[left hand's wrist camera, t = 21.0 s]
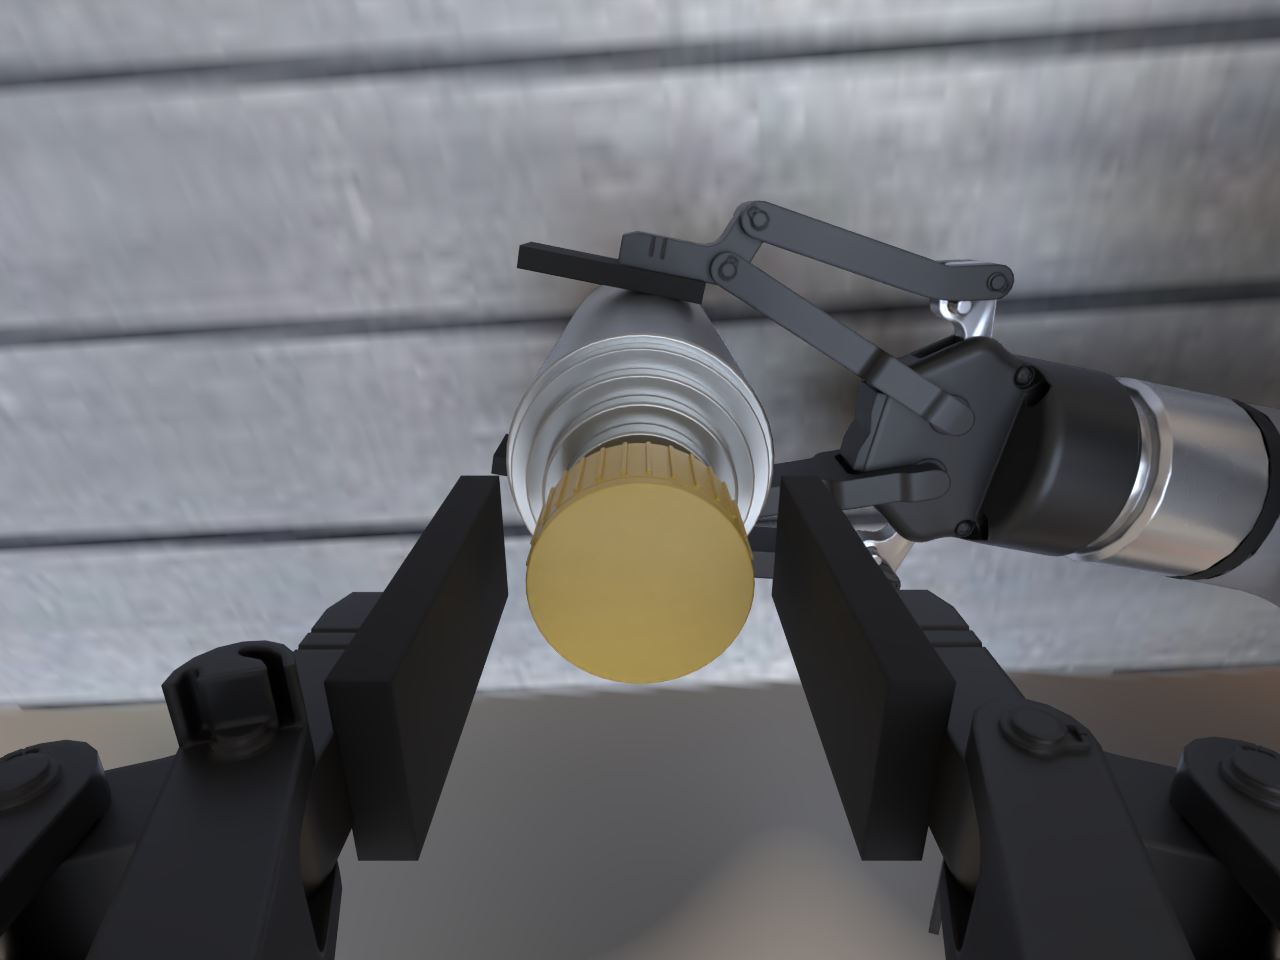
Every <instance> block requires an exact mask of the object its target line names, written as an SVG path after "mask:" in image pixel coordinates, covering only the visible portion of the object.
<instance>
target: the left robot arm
mask: <svg viewBox="0 0 1280 960" xmlns="http://www.w3.org/2000/svg"><path fill="white" fill-rule="evenodd" d="M507 597H508V585H507V572H506V559H505V546H504V533H503V520H502V507H501V494H500V481H499V476H461V477H460V478H459V480H458V481H457V483H456V484H455V486H454V487H453V489H452V490H451V492H450V493H449V495H448V496H447V498H446V499H445V501H444V502H443V504H442V505H441V507H440V508H439V510H438V511H437V513H436V514H435V516H434V517H433V519H432V520H431V522H430V523H429V525H428V526H427V528H426V529H425V531H424V532H423V534H422V535H421V537H420V538H419V540H418V541H417V543H416V544H415V546H414V547H413V549H412V550H411V552H410V553H409V555H408V556H407V558H406V559H405V561H404V562H403V564H402V565H401V567H400V568H399V570H398V571H397V573H396V574H395V576H394V577H393V579H392V580H391V582H390V583H389V585H388V586H387V588H386V589H385V591H384V592H352V593H351V594H349V595H348V596H346V597H345V598H343V599H342V600H340V601H339V602H337V603H335V604H334V605H332V606H331V607H329V608H328V609H327V610H326V611H325V612H324V613H323V615H322V616H321V617H320V619H319V620H318V621H317V622H316V624H315V625H314V626H313V628H312V629H311V630H312V631H311V633H308V634H307V635H306V636H305V638H304V639H303V640H302V642H301V643H300V644H299V648H298V650H295V651H294V652H293V651H291V650H290V649H289V648H288V647H286V646H285V645H284V644H280V643H275V642H270V641H246V642H239V643H235V644H231V645H227V646H222V647H218V648H216V649H213V650H211V651H209V652H206V653H204V654H201V655H199V656H197V657H194V658H193V659H191V660H190V661H188V662H186V663H185V664H183V665H182V666H180V667H179V668H177V669H176V670H174V671H173V672H172V674H171V675H170V676H169V677H168V678H167V679H166V681H165V682H164V683H163V684H162V685H161V686H162V690H163V693H164V696H165V700H166V703H167V707H168V710H169V713H170V717H171V720H172V723H173V727H174V730H175V734H176V737H177V740H178V744H179V749H178V751H177V753H176V755H173V756H169V757H165V758H162V759H157V760H153V761H148V762H143V763H138V764H134V765H129V766H125V767H120V768H115V769H111V770H106V771H104V769H103V766H102V763H101V761H100V758H99V755H98V752H97V750H95V749H94V748H93V747H92V746H90V745H89V744H88V743H86V742H80V741H72V740H61V741H55V742H48V743H41V744H37V745H33V746H30V747H26V748H25V749H20V750H17V751H15V752H12V753H9V754H7V755H5V756H4V757H2V758H0V960H334V958H335V949H336V940H337V930H338V921H339V912H340V903H341V894H342V884H341V877H340V871H339V866H338V861H337V859H338V857H339V855H340V852H341V850H342V848H343V846H344V844H345V842H346V839H347V837H348V835H349V833H350V831H351V829H352V831H353V836H354V841H355V846H356V851H357V857H358V860H359V861H418V859H419V856H420V853H421V850H422V847H423V845H424V841H425V839H426V836H427V833H428V830H429V827H430V824H431V821H432V818H433V815H434V812H435V809H436V806H437V803H438V800H439V797H440V795H441V792H442V789H443V786H444V783H445V780H446V777H447V774H448V771H449V768H450V765H451V762H452V759H453V756H454V753H455V750H456V747H457V744H458V742H459V739H460V736H461V733H462V730H463V727H464V724H465V721H466V718H467V715H468V712H469V709H470V706H471V703H472V700H473V697H474V695H475V692H476V689H477V686H478V683H479V680H480V677H481V674H482V671H483V668H484V665H485V662H486V659H487V656H488V653H489V650H490V647H491V645H492V642H493V639H494V636H495V633H496V630H497V627H498V624H499V621H500V618H501V615H502V612H503V609H504V606H505V603H506V600H507ZM772 597H773V600H774V603H775V606H776V609H777V612H778V615H779V618H780V621H781V624H782V627H783V630H784V633H785V636H786V639H787V642H788V645H789V647H790V650H791V653H792V656H793V659H794V662H795V665H796V668H797V671H798V674H799V677H800V680H801V683H802V686H803V688H804V692H805V695H806V697H807V700H808V703H809V706H810V709H811V712H812V715H813V718H814V721H815V724H816V727H817V730H818V733H819V736H820V739H821V742H822V745H823V747H824V750H825V753H826V756H827V759H828V762H829V765H830V768H831V771H832V774H833V777H834V780H835V783H836V786H837V789H838V792H839V795H840V797H841V800H842V803H843V806H844V809H845V812H846V815H847V818H848V821H849V824H850V827H851V830H852V833H853V836H854V839H855V842H856V845H857V847H858V850H859V853H860V856H861V859H862V861H902V860H903V861H917V860H918V861H921V860H922V856H923V851H924V846H925V841H926V836H927V831H928V826H929V827H930V829H931V832H932V834H933V836H934V838H935V840H936V842H937V844H938V847H939V849H940V851H941V853H942V855H943V861H942V866H941V871H940V876H939V880H938V885H937V890H936V895H935V900H934V904H933V909H932V914H931V920H930V927H929V933H933V934H937V935H938V934H939V929H940V925H941V920H942V929H943V938H944V947H945V956H946V960H1280V754H1278V753H1277V752H1275V751H1273V750H1270V749H1267V748H1265V747H1262V746H1257V745H1255V744H1252V743H1248V742H1245V741H1241V740H1234V739H1227V738H1220V737H1209V738H1200V739H1195V740H1193V741H1192V742H1191V743H1189V744H1188V745H1187V746H1185V747H1184V749H1183V752H1182V755H1181V758H1180V761H1179V764H1178V766H1177V768H1175V767H1170V766H1165V765H1160V764H1156V763H1151V762H1147V761H1142V760H1137V759H1133V758H1128V757H1123V756H1119V755H1115V754H1111V753H1108V752H1104V751H1103V750H1102V747H1101V745H1100V744H1099V743H1098V741H1097V740H1096V739H1095V737H1094V736H1093V735H1092V733H1091V732H1090V730H1088V729H1087V728H1086V727H1085V726H1083V725H1082V724H1081V723H1079V722H1078V721H1077V720H1075V719H1074V718H1073V717H1071V716H1070V715H1068V714H1066V713H1064V712H1062V711H1059V710H1057V709H1055V708H1053V707H1051V706H1049V705H1047V704H1043V703H1039V702H1035V701H1032V700H1028V699H1026V698H1025V697H1024V696H1023V695H1022V693H1021V692H1020V691H1019V689H1018V688H1017V687H1016V686H1015V684H1014V683H1013V682H1012V681H1011V679H1010V678H1009V677H1008V675H1007V674H1006V673H1005V672H1004V670H1003V669H1002V668H1001V667H1000V665H999V664H998V663H997V661H996V660H995V659H994V658H993V656H992V655H991V654H990V653H989V651H988V650H987V649H986V647H982V642H981V641H980V640H979V639H978V637H977V636H976V635H975V633H974V632H973V631H972V630H969V626H968V625H967V623H966V622H965V621H964V619H963V618H962V617H961V616H960V614H959V613H958V612H957V611H956V609H955V608H954V607H953V606H952V605H950V604H948V603H947V602H945V601H944V600H942V599H941V598H939V597H938V596H936V595H935V594H933V593H932V592H930V591H928V590H895V589H894V588H893V586H892V585H891V583H890V582H889V580H888V579H887V577H886V576H885V574H884V573H883V571H882V570H881V568H880V567H879V565H878V564H877V562H876V561H875V559H874V558H873V556H872V555H871V553H870V552H869V550H868V549H867V547H866V546H865V544H864V543H863V541H862V540H861V538H860V537H859V535H858V534H857V532H856V531H855V529H854V528H853V526H852V525H851V523H850V522H849V520H848V519H847V517H846V516H845V514H844V513H843V511H842V510H841V508H840V507H839V505H838V504H837V502H836V501H835V499H834V498H833V496H832V495H831V493H830V492H829V490H828V489H827V487H826V486H825V484H824V483H823V481H822V480H821V478H820V477H819V476H781V481H780V494H779V507H778V520H777V533H776V546H775V559H774V572H773V585H772Z"/></svg>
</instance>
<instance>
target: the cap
mask: <svg viewBox="0 0 1280 960" xmlns="http://www.w3.org/2000/svg"><path fill="white" fill-rule="evenodd" d="M530 544H531V545H532V546H531V549H530V552H529V555H528V558H527V562H526V566H527V573H526V594H527V599H528V604H529V608H530V611H531V613H532V616H533V619H534V621H535V623H536V625H537V627H538V629H539V630H540V632H541V633H542V635H543V636H544V638H545V639H546V640H547V642H548V643H549V644H550V645H551V646H552V647H553V648H554V649H555V650H556V651H557V652H558V653H559V654H560V655H561V656H562V657H564V658H565V659H566V660H567V661H569V662H570V663H572V664H574V665H575V666H577V667H578V668H580V669H582V670H584V671H586V672H588V673H590V674H593V675H596V676H599V677H601V678H604V679H608V680H613V681H617V682H625V683H644V684H646V683H656V682H663V681H668V680H672V679H676V678H679V677H682V676H685V675H688V674H690V673H692V672H694V671H696V670H699V669H700V668H702V667H704V666H705V665H707V664H709V663H710V662H712V661H713V660H714V659H715V658H717V657H718V656H719V655H720V654H722V653H723V652H724V651H725V650H726V649H727V648H728V647H729V646H730V645H731V643H732V642H733V641H734V639H735V638H736V637H737V635H738V634H739V633H740V631H741V629H742V627H743V625H744V624H745V622H746V620H747V617H748V615H749V612H750V609H751V605H752V601H753V597H754V585H755V581H754V569H753V564H752V560H753V559H754V558H753V554H752V550H751V547H750V544H749V541H748V536H747V533H746V530H745V527H744V524H743V521H742V518H741V515H740V512H739V508H738V505H737V502H736V500H732V498H731V496H730V494H729V490H728V487H727V484H726V483H725V481H724V482H721V481H720V479H719V478H718V477H717V476H716V475H715V474H714V473H713V469H712V467H710V466H708V467H707V466H706V465H704V464H703V463H702V462H700V461H699V460H697V459H696V458H695V457H694V455H693V454H690V455H689V454H687V453H684V452H682V451H679V450H677V449H674V448H673V446H671V445H669V447H667V446H663V445H657V444H651V442H646V443H631V444H627V442H624V443H623V444H622V445H618V446H613V447H609V448H606V449H605V447H603V448H601V450H600V451H598V452H596V453H594V454H592V455H590V456H588V457H586V458H585V457H582V458H581V459H580V462H579V463H577V464H576V465H575V466H573V467H572V468H571V469H570V470H569V471H567V470H566V471H565V472H564V473H563V476H562V479H561V480H560V481H559V482H558V483H557V485H556V486H555V488H554V487H553V486H552V488H551V489H550V492H549V495H548V498H547V502H546V505H543V506H542V509H541V512H540V515H539V518H538V521H537V524H536V527H535V530H534V534H533V537H532V540H531V543H530Z"/></svg>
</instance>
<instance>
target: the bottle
mask: <svg viewBox="0 0 1280 960" xmlns="http://www.w3.org/2000/svg"><path fill="white" fill-rule="evenodd" d="M624 442H627V444H631V443H646V442H651V444H657V445H663V446H667V447H669V445H671V446H673V448H674V449H677V450H679V451H682V452H684V453H687V454H689V455H690V454H693V455H694V457H695V458H696V459H697V460H699V461H700V462H702V463H703V464H704V465H706V466H707V467H708V466H710V467H712V469H713V473H714V474H715V475H716V476H717V477H718V478H719V479H720V481H721V482H724V481H725V483H726V484H727V487H728V490H729V494H730V496H731V498H732V500H736V502H737V505H738V508H739V512H740V515H741V518H742V521H743V524H744V527H745V530H746V533H747V536H748V535H749V534H750V532H751V530H752V529H753V527H754V526H755V524H756V522H757V520H758V518H759V516H760V514H761V512H762V509H763V507H764V505H765V503H766V500H767V497H768V494H769V491H770V488H771V483H772V477H773V471H774V448H773V438H772V434H771V430H770V426H769V422H768V419H767V417H766V414H765V412H764V409H763V407H762V405H761V403H760V401H759V400H758V398H757V396H756V394H755V392H754V391H753V389H752V388H751V386H750V384H749V383H748V381H747V379H746V378H745V376H744V375H743V373H742V371H741V370H740V368H739V367H738V365H737V363H736V362H735V360H734V358H733V357H732V355H731V354H730V352H729V350H728V349H727V347H726V346H725V344H724V342H723V341H722V339H721V337H720V336H719V334H718V333H717V331H716V329H715V328H714V326H713V325H712V323H711V321H710V320H709V318H708V316H707V315H706V313H705V312H704V310H703V308H702V307H701V306H700V304H696V303H691V302H686V301H681V300H676V299H671V298H666V297H661V296H656V295H651V294H646V293H641V292H636V291H631V290H626V289H621V288H615V287H610V286H605V285H602V286H600V287H598V288H597V289H595V290H594V291H593V292H592V293H591V294H590V295H588V296H587V298H586V299H585V300H584V301H583V302H582V303H581V305H580V306H579V308H578V309H577V311H576V312H575V314H574V315H573V317H572V319H571V320H570V322H569V323H568V325H567V327H566V328H565V330H564V332H563V333H562V335H561V336H560V338H559V340H558V341H557V343H556V344H555V346H554V348H553V349H552V351H551V353H550V354H549V356H548V357H547V359H546V361H545V362H544V364H543V365H542V367H541V369H540V370H539V372H538V374H537V375H536V377H535V378H534V380H533V382H532V383H531V385H530V386H529V388H528V390H527V391H526V393H525V395H524V396H523V398H522V400H521V402H520V404H519V406H518V408H517V410H516V412H515V415H514V418H513V421H512V424H511V427H510V431H509V436H508V442H507V453H506V465H507V476H508V481H509V485H510V490H511V494H512V496H513V499H514V502H515V504H516V507H517V509H518V511H519V513H520V515H521V518H522V519H523V521H524V523H525V525H526V527H527V528H528V530H529V532H530V533H531V535H532V536H533V534H534V530H535V527H536V524H537V521H538V518H539V515H540V512H541V509H542V506H543V505H546V502H547V498H548V495H549V492H550V489H551V488H552V486H553V487H554V488H555V486H556V485H557V483H558V482H559V481H560V480H561V479H562V476H563V473H564V472H565V471H566V470H567V471H569V470H570V469H571V468H572V467H573V466H575V465H576V464H577V463H579V462H580V459H581V458H582V457H585V458H586V457H588V456H590V455H592V454H594V453H596V452H598V451H600V450H601V448H603V447H605V449H606V448H609V447H613V446H618V445H622V444H623V443H624Z"/></svg>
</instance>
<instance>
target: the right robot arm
mask: <svg viewBox="0 0 1280 960" xmlns="http://www.w3.org/2000/svg"><path fill="white" fill-rule="evenodd" d="M763 242H765V243H768V244H771V245H774V246H777V247H780V248H782V249H785V250H788V251H791V252H794V253H797V254H800V255H803V256H806V257H809V258H812V259H815V260H817V261H820V262H823V263H826V264H829V265H832V266H835V267H838V268H841V269H844V270H847V271H849V272H852V273H855V274H858V275H861V276H864V277H867V278H870V279H873V280H876V281H879V282H881V283H884V284H887V285H890V286H893V287H896V288H899V289H902V290H905V291H909V292H912V293H915V294H918V295H921V296H925V297H929V298H930V307H931V310H932V312H933V313H934V314H935V315H937V316H939V317H942V318H944V319H947V320H950V321H951V322H952V323H953V325H954V328H955V334H954V335H951V336H949V337H947V338H944V339H942V340H940V341H937V342H935V343H933V344H931V345H928V346H926V347H924V348H922V349H919V350H917V351H915V352H912V353H910V354H908V355H906V356H903V357H901V358H899V359H896V358H894V357H893V356H891V355H889V354H888V353H886V352H885V351H883V350H882V349H880V348H878V347H877V346H875V345H874V344H872V343H871V342H869V341H868V340H866V339H865V338H863V337H862V336H860V335H859V334H857V333H856V332H854V331H853V330H851V329H850V328H848V327H847V326H845V325H844V324H842V323H841V322H839V321H838V320H836V319H835V318H833V317H831V316H830V315H828V314H827V313H825V312H824V311H822V310H821V309H819V308H818V307H816V306H815V305H813V304H812V303H810V302H809V301H807V300H806V299H804V298H803V297H801V296H800V295H798V294H797V293H795V292H794V291H792V290H791V289H789V288H788V287H786V286H785V285H783V284H782V283H780V282H778V281H777V280H775V279H774V278H772V277H771V276H769V275H768V274H766V273H765V272H763V271H762V270H760V269H759V268H757V267H756V266H754V265H753V264H751V263H750V262H751V260H752V259H753V257H754V256H755V254H756V252H757V251H758V249H759V248H760V246H761V244H762V243H763ZM517 268H520V269H525V270H530V271H535V272H540V273H545V274H550V275H555V276H560V277H565V278H570V279H575V280H580V281H585V282H590V283H595V284H600V285H605V286H610V287H615V288H621V289H626V290H631V291H636V292H641V293H646V294H651V295H656V296H661V297H666V298H671V299H676V300H681V301H686V302H691V303H696V304H701V303H702V298H703V294H704V289H705V284H706V283H710V284H715V285H719V286H720V287H722V288H723V289H725V290H726V291H728V292H729V293H731V294H733V295H734V296H736V297H737V298H739V299H740V300H742V301H743V302H745V303H747V304H748V305H750V306H751V307H753V308H754V309H756V310H757V311H759V312H760V313H762V314H764V315H765V316H767V317H768V318H770V319H771V320H773V321H774V322H776V323H777V324H779V325H781V326H782V327H784V328H785V329H787V330H788V331H790V332H791V333H793V334H794V335H796V336H798V337H799V338H801V339H802V340H804V341H805V342H807V343H808V344H810V345H811V346H813V347H815V348H816V349H818V350H819V351H821V352H822V353H824V354H825V355H827V356H828V357H830V358H832V359H833V360H835V361H836V362H838V363H839V364H841V365H842V366H844V367H846V368H847V369H849V370H850V371H852V372H853V373H855V374H856V375H858V376H859V377H861V378H862V379H864V380H865V381H861V384H860V387H859V391H858V394H857V397H856V411H855V419H854V421H853V423H852V424H851V426H850V427H849V429H848V431H847V432H846V434H845V436H844V439H843V442H842V445H841V449H840V450H834V451H828V452H822V453H819V454H816V455H815V456H814V457H813V458H810V459H805V460H798V461H792V462H786V463H779V464H774V471H773V477H772V483H771V488H770V491H769V494H768V497H767V500H766V503H765V505H764V507H763V509H762V512H761V514H760V516H759V518H760V517H767V516H773V515H778V507H779V494H780V481H781V476H819V477H820V478H821V480H822V481H823V483H824V484H825V486H826V487H827V489H828V490H829V492H830V493H831V495H832V496H833V498H834V499H835V501H836V502H837V504H838V505H839V507H840V508H841V510H849V509H856V508H862V507H869V506H874V508H875V509H876V510H877V511H878V512H879V513H880V514H881V515H882V517H883V518H884V519H885V520H886V521H887V522H888V524H887V525H886V526H885V527H884V528H883V529H881V530H879V531H874V532H871V531H861V530H857V531H856V532H857V534H858V535H859V537H860V538H861V540H862V541H863V543H864V544H865V546H866V547H867V549H868V550H869V552H870V553H871V555H872V556H873V558H874V559H875V561H876V562H877V564H878V565H879V567H880V568H881V570H882V571H883V573H884V574H885V576H886V577H887V579H888V580H889V582H890V583H891V585H892V586H893V588H894V589H895V590H899V589H900V587H901V584H900V580H899V578H898V577H897V575H896V574H895V572H896V570H897V569H898V567H899V566H900V564H901V563H902V561H903V560H904V558H905V556H906V555H907V553H908V552H909V550H910V549H911V547H912V546H913V544H914V543H915V542H927V541H930V540H934V539H937V538H943V537H956V538H960V539H964V540H968V541H972V542H977V543H982V544H987V545H993V546H998V547H1004V548H1009V549H1015V550H1021V551H1026V552H1032V553H1037V554H1043V555H1048V556H1065V557H1067V558H1070V559H1072V560H1075V561H1079V562H1085V563H1091V564H1097V565H1103V566H1109V567H1115V568H1121V569H1127V570H1133V571H1139V572H1145V573H1152V574H1158V575H1164V576H1167V577H1171V578H1176V579H1186V580H1191V581H1196V582H1201V583H1206V584H1211V585H1216V586H1221V587H1226V588H1231V589H1236V590H1242V591H1245V592H1248V593H1251V594H1254V595H1257V596H1259V597H1261V598H1264V599H1266V600H1268V601H1270V602H1272V603H1273V604H1275V605H1277V606H1278V607H1280V409H1275V408H1270V407H1265V406H1259V405H1254V404H1248V403H1243V402H1241V401H1238V400H1234V399H1229V398H1225V397H1220V396H1215V395H1210V394H1205V393H1201V392H1196V391H1191V390H1186V389H1181V388H1176V387H1172V386H1167V385H1162V384H1157V383H1152V382H1147V381H1142V380H1138V379H1132V378H1126V377H1112V376H1110V375H1108V374H1106V373H1103V372H1099V371H1094V370H1089V369H1084V368H1079V367H1074V366H1069V365H1064V364H1059V363H1054V362H1049V361H1044V360H1039V359H1034V358H1029V357H1024V356H1019V355H1014V354H1011V353H1010V352H1008V351H1007V350H1006V349H1005V348H1004V347H1003V346H1002V345H1001V344H1000V343H999V342H997V341H996V340H994V339H992V338H991V337H992V330H993V323H994V315H995V308H996V301H997V299H1000V298H1002V297H1004V296H1005V295H1007V294H1008V292H1009V291H1010V290H1011V289H1012V286H1013V283H1014V274H1013V272H1012V271H1011V269H1010V268H1009V267H1007V266H1006V265H1000V264H994V263H989V262H982V261H975V260H946V261H934V260H931V259H928V258H925V257H923V256H920V255H917V254H914V253H911V252H908V251H905V250H903V249H900V248H897V247H894V246H891V245H888V244H885V243H883V242H880V241H877V240H874V239H871V238H868V237H865V236H863V235H860V234H857V233H854V232H851V231H848V230H845V229H843V228H840V227H837V226H834V225H831V224H828V223H826V222H823V221H820V220H817V219H814V218H811V217H808V216H806V215H803V214H800V213H797V212H794V211H791V210H788V209H786V208H783V207H780V206H777V205H774V204H771V203H768V202H765V201H748V202H745V203H742V204H741V205H740V206H738V207H737V209H736V210H735V212H734V215H733V218H732V219H731V221H730V223H729V224H728V226H727V227H726V229H725V231H724V232H723V234H722V235H721V236H720V238H718V239H717V240H716V241H714V242H712V243H709V244H699V243H694V242H689V241H684V240H679V239H674V238H669V237H664V236H660V235H654V234H650V233H645V232H640V231H636V232H631V233H626V234H623V236H622V242H621V248H620V254H619V259H614V258H609V257H604V256H599V255H594V254H589V253H584V252H579V251H574V250H569V249H564V248H559V247H554V246H549V245H544V244H539V243H534V242H529V243H526V244H523V245H520V248H519V256H518V264H517ZM508 436H509V434H506V435H505V437H504V439H503V440H502V442H501V444H500V445H499V447H498V449H497V450H496V452H495V454H494V456H493V464H492V472H491V473H492V474H497V475H503V476H507V465H506V453H507V442H508ZM776 533H777V528H769V527H753V529H752V530H751V532H750V534H749V535H748V541H749V544H750V547H751V550H752V554H753V558H754V559H753V560H752V564H753V569H754V578H769V579H773V572H774V559H775V546H776Z"/></svg>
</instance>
